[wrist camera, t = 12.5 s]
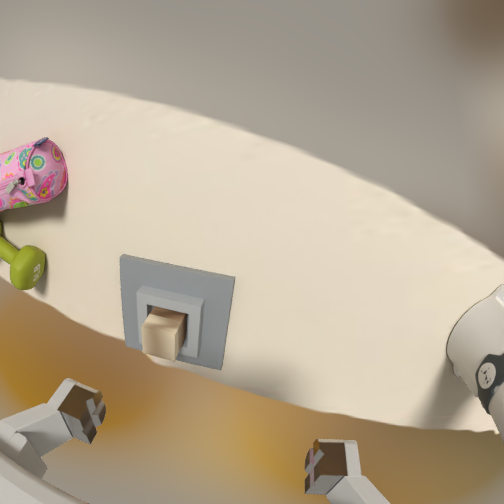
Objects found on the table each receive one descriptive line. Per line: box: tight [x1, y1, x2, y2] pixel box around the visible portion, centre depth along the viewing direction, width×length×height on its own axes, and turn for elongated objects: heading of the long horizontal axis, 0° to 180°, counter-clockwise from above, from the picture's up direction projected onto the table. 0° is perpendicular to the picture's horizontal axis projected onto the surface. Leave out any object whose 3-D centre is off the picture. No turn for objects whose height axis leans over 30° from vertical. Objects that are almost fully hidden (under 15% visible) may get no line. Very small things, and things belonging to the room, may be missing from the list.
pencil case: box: [0, 137, 68, 212], centre depth 33 cm, size 21×9×9 cm, turn 93°
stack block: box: [141, 306, 188, 361], centre depth 40 cm, size 4×4×6 cm
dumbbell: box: [0, 221, 45, 290], centre depth 39 cm, size 16×8×7 cm, turn 62°
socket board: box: [120, 254, 235, 370], centre depth 42 cm, size 16×16×3 cm
